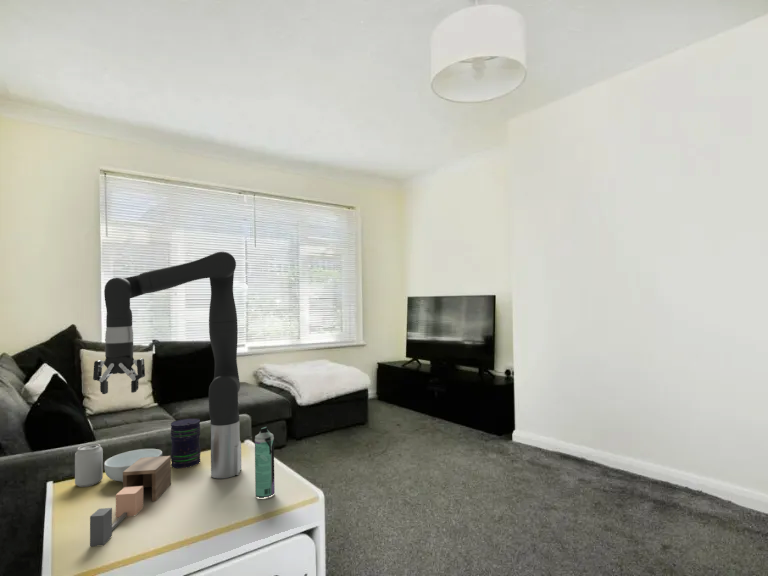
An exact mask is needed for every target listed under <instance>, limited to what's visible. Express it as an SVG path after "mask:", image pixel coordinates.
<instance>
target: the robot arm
mask: <svg viewBox="0 0 768 576" xmlns="http://www.w3.org/2000/svg"><path fill="white" fill-rule="evenodd" d="M236 267H237V262H236V260H235V257H234V256H233V255H232V254H231V253H229V252H228V251H224V250H220V251H219V250H218V251H215V252H213V253H212V254H209V255H206V256H204V257H201V258H199V259H196V260H193V261H190V262H186V263H182V264H181V263H180V264H177V265H171V266H167V267H165V266H164V267H161V268H157V269H156V268H155V269H153V270H152V269H151V270H149V271H144V272H141V273H140V274H137V275H133V276H128V277H123V278H122V277H113V278H110V279H109V280H108V281H107V282H106V283H105V285H104V302H105V307H106V315H105V318H106V319H105V321H106V324H105V325H106V328H105V329H106V330H105V338H104V342H105V344H104V345H105V347H104V349H105V351H104V354H105V360H101V359H100V360H95V361H93V376H92V379H93V381H98V382H99V384H100V386H99V387H100V389H99V390H100V393H101V394H102V395H106V394H108V393H109V381H108V379H109V378H110V377H111V376H112V375H116V374H118V375H121V374H122V375H123V374H125V375H126V376H128V377H129V378H130V379H131V382H130V383H131V384H130V387H131V388H130V392H131V393H132V394H133V393H137V391H138V390H139V381H140V379H142V378H145V376H146V370H145V369H146V368H145V367H146V366H145V359H144V358H139V359H134V330H133V312H132V309H131V299H133V298H137V297H139V296H142V295H146V294H152V293H156V292H161V291H163V290H164V291H165V290H168V289H172V288H174V287H178V286H181V285H185V284H187V283H191V282H193V281H198V280H202V279H203V280H204V279H209V284H210V302H209V309H208V310H209V311H208V331H209V332H208V333H209V340H210V341H209V342H210V344H211V345H210V346H211V350H212V353H213V358H214V376H213V379H212V382H211V383H210V385H209V387H208V415H209V419H210V476H211V477H212V478H214V479H228V478H231V477H235V475H238V476H239V474H240V472H241V471H240V470H242V441H241V440H240V436H241V435H240V411H239V392H240V389H241V382H240V381H241V380H240V376H239V370H238V359H237V358H238V356H237V355H238V336H239V335H238V329H239V328H238V315H237V306H236V301H235V295H234V280H235V279H234V277H235V276H234V275H235V271H236ZM134 365H135V367H136V370H137V371H136V370H135V369H134V367H133V366H134ZM104 366H105V368H106V369H105V370H104V372H103V367H104ZM102 372H103V373H102Z"/></svg>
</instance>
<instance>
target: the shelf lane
mask: <svg viewBox="0 0 768 576" xmlns="http://www.w3.org/2000/svg"><path fill="white" fill-rule="evenodd" d="M171 463H172V462H171V455H162V456H160V457H144V458H140V459H139V460H137V461H136V462H135V463H134V464H132V465H131V466H130V467H129V468H127V469H126V470H125V471H124V472H123V482H122V489H123V488H124V487H135V486H143V488H151V496H152V497H151V501H152V502H157V501H158V499H159V498H160V497H162V495H163V494H164V492H166V490H167V489H168V488H169V487H170V486H171V484H172V467H171Z"/></svg>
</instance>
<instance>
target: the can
mask: <svg viewBox="0 0 768 576" xmlns="http://www.w3.org/2000/svg"><path fill="white" fill-rule="evenodd" d="M103 450H104V449H103V447H101V443H89V444H84V445H81V446H78V447H77V451H76V452H75V454H74V484H75V485H76V486H77V487H79V488H87V487H91V486H95V485H96V484H99V483H100V482H101V481H102V480H103V477H104V474H103V471H104V467H103V465H104V462H103V460H104V459H103V458H104V455H103V453H104V451H103ZM98 482H99V483H98ZM94 484H95V485H94Z"/></svg>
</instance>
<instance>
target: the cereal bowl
mask: <svg viewBox="0 0 768 576" xmlns="http://www.w3.org/2000/svg"><path fill="white" fill-rule="evenodd" d="M160 456H163V451H162V450H161V449H158V448H157V449H156V448H140V449H134V450H129V451H125V452H122V453H118V454H116V455H113V456H112V457H111V456H110V457H109V458H107V459H106V460H105V461H104V462H103V465H104V467H103V470H104V472H105V474H106V476H107V478H109V479H110V480H112V481H117V482H122V483H123V472H124V471H125V470H126V469H127V468H129V467H130V466H131V465H132V464H134V463H135V462H136V461H137V460H139V459H140V458H144V457H160Z"/></svg>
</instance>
